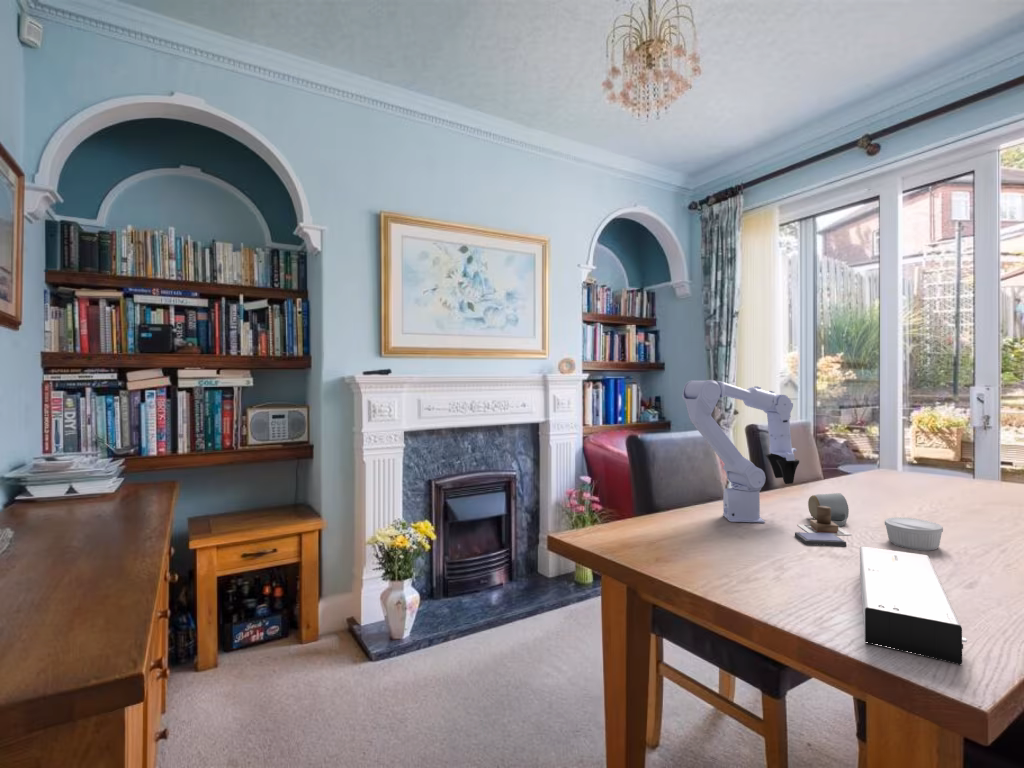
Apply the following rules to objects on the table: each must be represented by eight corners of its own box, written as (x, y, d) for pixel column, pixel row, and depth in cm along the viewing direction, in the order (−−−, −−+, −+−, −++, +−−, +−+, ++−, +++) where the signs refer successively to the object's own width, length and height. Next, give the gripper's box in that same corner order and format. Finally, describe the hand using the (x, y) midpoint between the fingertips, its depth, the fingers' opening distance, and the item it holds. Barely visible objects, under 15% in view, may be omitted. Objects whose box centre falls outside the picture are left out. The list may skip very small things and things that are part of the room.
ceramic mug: (806, 516, 151) (806, 490, 150) (836, 516, 150) (836, 490, 149) (823, 527, 140) (823, 499, 140) (855, 527, 139) (855, 499, 139)
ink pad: (806, 544, 125) (806, 540, 125) (794, 536, 132) (794, 531, 132) (846, 546, 123) (846, 541, 123) (832, 537, 130) (832, 532, 130)
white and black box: (860, 575, 106) (859, 545, 106) (936, 588, 99) (936, 556, 99) (865, 647, 78) (864, 607, 78) (973, 672, 71) (972, 627, 71)
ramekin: (889, 548, 122) (888, 526, 122) (881, 535, 132) (880, 515, 132) (949, 555, 117) (949, 532, 117) (936, 541, 126) (936, 520, 126)
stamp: (817, 532, 134) (817, 509, 134) (810, 526, 139) (809, 504, 139) (838, 532, 133) (838, 509, 133) (830, 527, 138) (830, 505, 138)
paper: (809, 533, 133) (809, 532, 133) (797, 525, 141) (797, 524, 141) (851, 535, 132) (851, 534, 132) (836, 526, 140) (836, 525, 140)
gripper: (804, 437, 143) (808, 485, 143) (784, 430, 157) (788, 474, 157) (777, 439, 144) (781, 487, 144) (760, 432, 158) (764, 475, 158)
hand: (783, 480), depth 151 cm, fingers open, 7 cm apart
